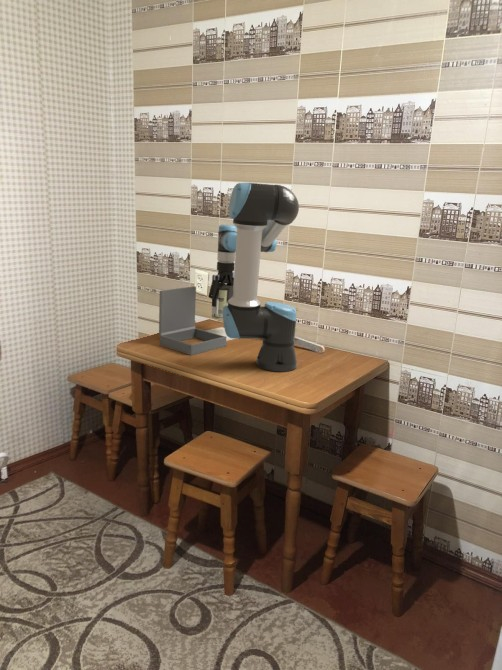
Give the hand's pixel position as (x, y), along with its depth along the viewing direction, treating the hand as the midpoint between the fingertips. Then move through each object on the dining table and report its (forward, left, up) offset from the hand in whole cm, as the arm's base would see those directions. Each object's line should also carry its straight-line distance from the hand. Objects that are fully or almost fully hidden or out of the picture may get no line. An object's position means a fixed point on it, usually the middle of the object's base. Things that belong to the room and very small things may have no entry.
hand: (223, 312), depth 233 cm
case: (-4, +22, -10) cm, 25 cm away
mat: (0, 0, -10) cm, 10 cm away
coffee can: (0, 0, -2) cm, 2 cm away
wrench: (-31, -10, -11) cm, 34 cm away
